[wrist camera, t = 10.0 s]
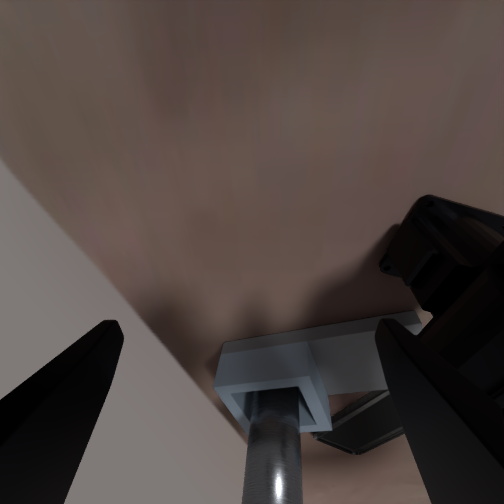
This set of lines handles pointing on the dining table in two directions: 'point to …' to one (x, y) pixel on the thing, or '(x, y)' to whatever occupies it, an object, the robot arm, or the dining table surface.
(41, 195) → the dining table surface
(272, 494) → the pin
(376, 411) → the phone
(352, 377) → the hitch socket
